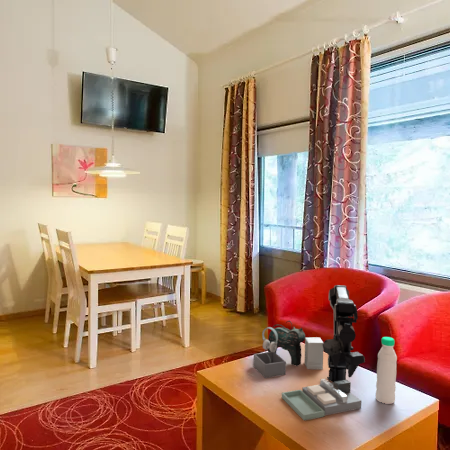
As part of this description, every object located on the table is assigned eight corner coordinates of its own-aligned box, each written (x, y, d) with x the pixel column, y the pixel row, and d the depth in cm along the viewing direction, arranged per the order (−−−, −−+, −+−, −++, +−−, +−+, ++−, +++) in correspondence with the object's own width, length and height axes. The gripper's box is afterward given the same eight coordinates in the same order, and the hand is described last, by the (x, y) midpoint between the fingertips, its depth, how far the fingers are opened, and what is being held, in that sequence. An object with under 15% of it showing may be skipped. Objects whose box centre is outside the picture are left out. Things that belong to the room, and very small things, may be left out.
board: (335, 388, 167) (336, 381, 167) (361, 408, 152) (361, 400, 152) (302, 394, 162) (302, 387, 162) (324, 415, 147) (325, 407, 147)
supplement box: (323, 369, 185) (324, 343, 184) (307, 369, 185) (307, 342, 184) (319, 363, 192) (320, 337, 191) (304, 362, 193) (304, 336, 192)
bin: (300, 394, 162) (300, 389, 162) (324, 416, 146) (324, 411, 146) (281, 397, 159) (281, 392, 159) (304, 420, 143) (304, 415, 143)
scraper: (336, 382, 166) (337, 372, 166) (360, 399, 152) (361, 389, 152) (320, 385, 164) (320, 375, 163) (342, 403, 150) (343, 393, 149)
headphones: (259, 369, 185) (260, 326, 183) (264, 366, 188) (265, 324, 186) (273, 374, 179) (274, 331, 177) (279, 372, 182) (280, 329, 180)
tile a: (318, 387, 162) (318, 384, 162) (325, 393, 157) (325, 390, 157) (307, 389, 160) (307, 386, 160) (314, 395, 155) (314, 392, 155)
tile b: (328, 395, 155) (328, 392, 155) (335, 402, 150) (336, 399, 150) (316, 397, 153) (317, 394, 153) (324, 404, 149) (324, 401, 149)
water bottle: (393, 406, 154) (396, 343, 152) (373, 401, 157) (376, 339, 155) (396, 398, 160) (399, 337, 158) (377, 393, 163) (380, 333, 161)
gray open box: (273, 363, 191) (273, 351, 190) (285, 374, 179) (285, 361, 179) (253, 366, 187) (253, 354, 187) (264, 378, 176) (265, 364, 175)
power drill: (305, 365, 190) (306, 323, 188) (297, 369, 185) (298, 326, 184) (272, 352, 204) (273, 314, 203) (264, 356, 200) (265, 316, 198)
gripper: (313, 327, 163) (311, 365, 164) (341, 344, 145) (339, 386, 146) (336, 324, 166) (335, 361, 168) (366, 340, 149) (364, 381, 150)
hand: (342, 372), depth 158 cm, fingers open, 9 cm apart
